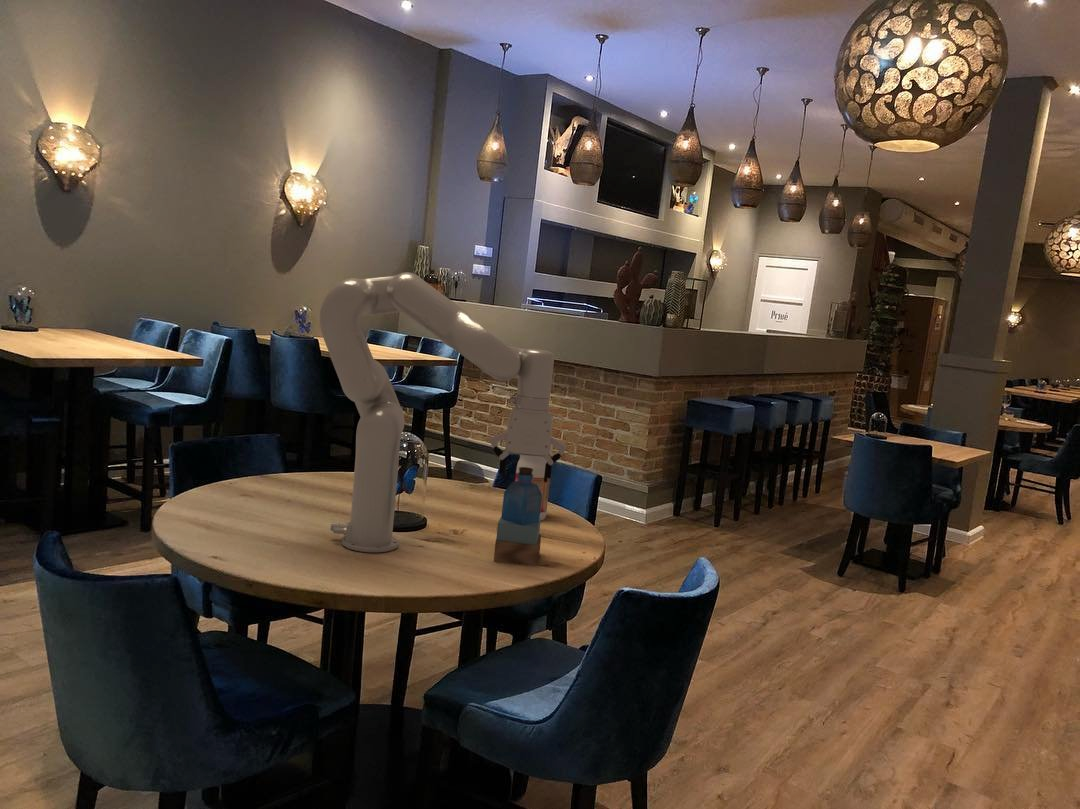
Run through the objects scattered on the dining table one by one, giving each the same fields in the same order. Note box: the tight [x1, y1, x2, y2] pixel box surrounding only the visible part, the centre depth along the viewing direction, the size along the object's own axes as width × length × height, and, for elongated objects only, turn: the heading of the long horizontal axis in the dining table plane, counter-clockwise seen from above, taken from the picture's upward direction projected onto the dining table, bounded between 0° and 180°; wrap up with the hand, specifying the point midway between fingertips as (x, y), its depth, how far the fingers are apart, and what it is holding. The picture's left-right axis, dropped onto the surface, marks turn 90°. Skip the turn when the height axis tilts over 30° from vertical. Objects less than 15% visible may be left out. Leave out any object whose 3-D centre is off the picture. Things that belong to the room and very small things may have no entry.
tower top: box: [495, 517, 542, 545], centre depth 195 cm, size 9×9×4 cm
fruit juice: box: [514, 444, 554, 521], centre depth 232 cm, size 9×9×28 cm
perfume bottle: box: [500, 467, 542, 525], centre depth 194 cm, size 6×6×12 cm
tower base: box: [493, 533, 542, 568], centre depth 195 cm, size 10×10×5 cm
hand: (524, 478), depth 193 cm, fingers open, 9 cm apart
